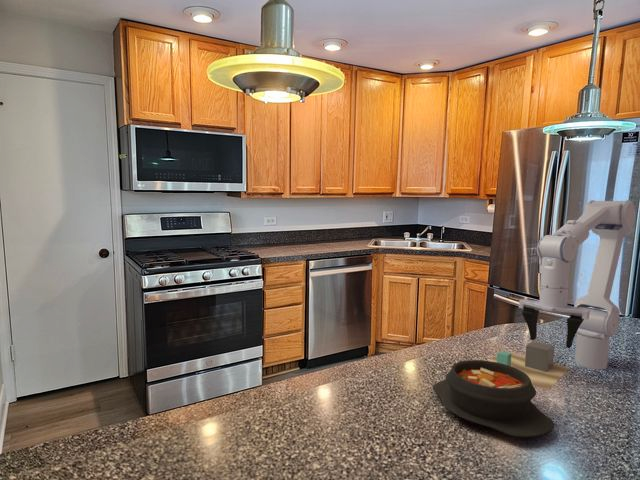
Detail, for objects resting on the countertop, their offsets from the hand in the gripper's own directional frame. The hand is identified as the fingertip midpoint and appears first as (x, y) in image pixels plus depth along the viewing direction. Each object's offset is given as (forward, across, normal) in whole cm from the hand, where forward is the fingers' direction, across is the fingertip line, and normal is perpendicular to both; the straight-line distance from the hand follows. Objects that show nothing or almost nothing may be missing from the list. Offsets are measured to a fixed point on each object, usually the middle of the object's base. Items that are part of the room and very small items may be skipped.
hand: (550, 342), depth 99 cm
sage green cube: (+9, -10, -1) cm, 14 cm away
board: (+10, -7, +3) cm, 12 cm away
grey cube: (+9, -4, +7) cm, 12 cm away
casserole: (+10, -5, -25) cm, 27 cm away
